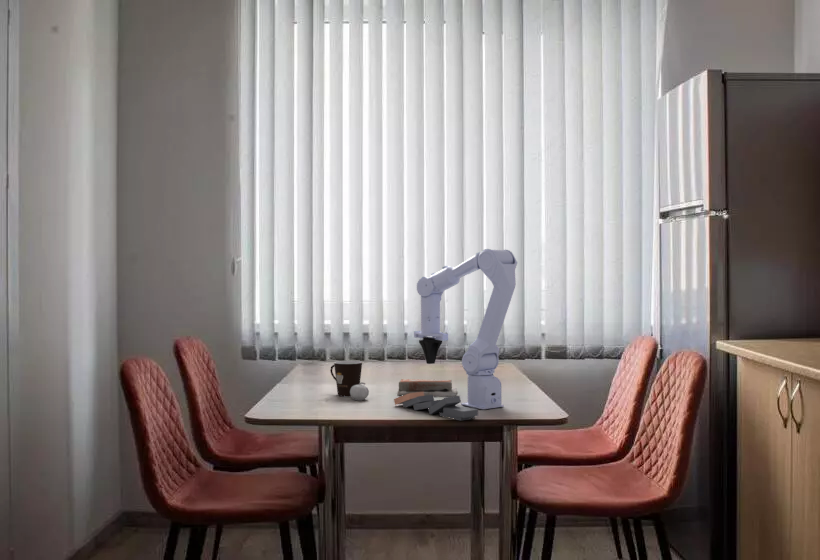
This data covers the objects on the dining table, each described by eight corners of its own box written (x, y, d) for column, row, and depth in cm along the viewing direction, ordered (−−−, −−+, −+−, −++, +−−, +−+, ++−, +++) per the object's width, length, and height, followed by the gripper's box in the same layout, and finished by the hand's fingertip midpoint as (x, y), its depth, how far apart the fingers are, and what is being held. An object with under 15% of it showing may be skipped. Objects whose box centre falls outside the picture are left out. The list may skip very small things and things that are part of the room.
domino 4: (444, 412, 196) (461, 401, 190) (429, 414, 193) (446, 403, 187) (442, 406, 196) (459, 395, 191) (428, 408, 194) (444, 397, 188)
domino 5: (457, 411, 193) (478, 415, 186) (443, 413, 190) (463, 417, 183) (457, 405, 193) (477, 409, 186) (443, 407, 190) (463, 411, 183)
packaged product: (396, 381, 224) (400, 377, 234) (396, 397, 224) (400, 392, 234) (456, 381, 222) (456, 377, 232) (456, 397, 222) (457, 392, 232)
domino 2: (417, 406, 206) (434, 400, 200) (403, 407, 203) (420, 402, 197) (416, 400, 206) (432, 394, 200) (402, 402, 204) (418, 396, 197)
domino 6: (453, 416, 194) (474, 421, 188) (439, 418, 191) (461, 423, 185) (453, 410, 194) (474, 414, 188) (439, 412, 191) (461, 417, 185)
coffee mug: (366, 396, 223) (365, 363, 223) (338, 397, 220) (338, 364, 220) (354, 390, 234) (354, 359, 234) (328, 392, 231) (328, 360, 231)
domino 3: (428, 408, 202) (445, 405, 196) (414, 410, 199) (431, 407, 193) (427, 402, 202) (444, 399, 196) (413, 404, 200) (430, 401, 193)
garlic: (373, 399, 218) (373, 381, 218) (362, 402, 213) (362, 384, 213) (357, 397, 221) (356, 380, 221) (345, 400, 216) (345, 382, 216)
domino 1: (408, 402, 209) (424, 397, 203) (394, 404, 206) (410, 399, 200) (407, 397, 209) (423, 391, 203) (393, 399, 207) (409, 393, 200)
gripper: (456, 318, 214) (456, 364, 214) (427, 316, 226) (427, 360, 226) (436, 319, 210) (437, 366, 210) (408, 317, 222) (408, 361, 222)
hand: (430, 363), depth 218 cm, fingers closed
